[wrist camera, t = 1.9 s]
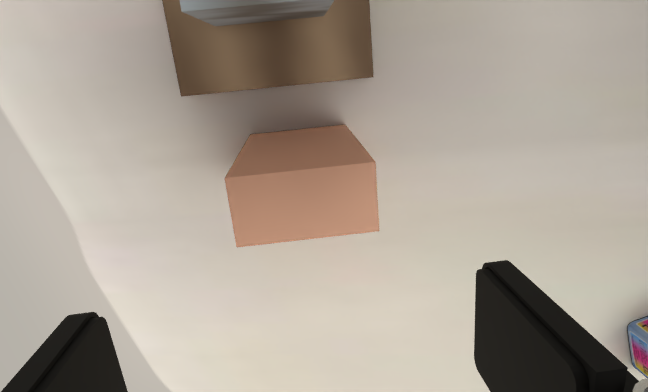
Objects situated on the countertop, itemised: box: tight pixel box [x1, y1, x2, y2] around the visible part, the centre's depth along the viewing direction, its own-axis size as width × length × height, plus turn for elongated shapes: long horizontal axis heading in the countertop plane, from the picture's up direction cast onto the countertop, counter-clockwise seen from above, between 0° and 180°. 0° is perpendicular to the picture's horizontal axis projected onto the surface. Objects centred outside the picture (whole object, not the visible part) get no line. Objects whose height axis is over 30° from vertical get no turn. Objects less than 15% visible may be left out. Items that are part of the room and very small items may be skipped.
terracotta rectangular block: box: [225, 125, 379, 247], centre depth 26 cm, size 7×4×12 cm, turn 95°
